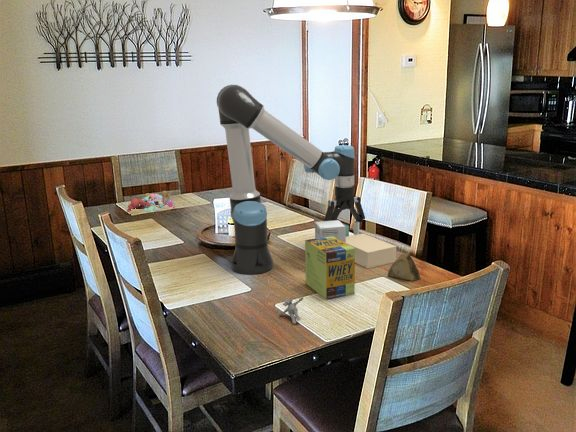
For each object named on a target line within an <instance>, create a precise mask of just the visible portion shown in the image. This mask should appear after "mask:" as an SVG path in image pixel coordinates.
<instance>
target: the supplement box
mask: <svg viewBox="0 0 576 432" xmlns="http://www.w3.org/2000/svg"><path fill="white" fill-rule="evenodd" d="M343 224H344V223H342V222H341V220H338V219H337V220H334V221H324V220H322V221H314V237H315V238H314V239H316V238H324V237H331V236H333V237H335V238H337V239H339V240H341V241H343V242H345V243H346V227H345V226H344V225H343Z"/></svg>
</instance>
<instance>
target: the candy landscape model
mask: <svg viewBox="0 0 576 432" xmlns="http://www.w3.org/2000/svg"><path fill="white" fill-rule="evenodd" d="M161 193H162V194H161V195H160V194H159V193H149V192H148V193H145V195H144V197H143V198H139V199H138V198H136V197H134V198H131V200H130V203H129V204H128V205H127V209H126V213H127V212H129V211H131V209H135V208H136V209H143V210H142V212H154V211H156V212H157V211H159V210H162V209H163V208H165V207H164V206H165V205H168V206H169V207H172V206H173V204H174V205H175V206H176V204H175V202H174V201H175V199H174V197H173V196H172V193H171V192H170V193H168V192H167V190H163V191H162V192H161ZM167 203H168V204H167ZM139 204H140V206H139ZM150 204H153V205H151V206H150ZM163 204H164V205H163ZM155 205H159V207H157V206H155ZM161 208H162V209H161Z"/></svg>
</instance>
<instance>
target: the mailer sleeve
mask: <svg viewBox="0 0 576 432" xmlns="http://www.w3.org/2000/svg"><path fill="white" fill-rule="evenodd" d="M346 244H348V245H350V246H352V247H354V248H355V263H356V264H357V265H359V266H361V267H363V268H366V269H368V270H369V269H371V268H376V267H379V266H380V267H381V266H385V265H388V264H393V263H394V262H395V261H396V260H397V246H396V245H395V244H391V243H389V242H386V241H384V240H380V239H379V238H377V237H376V238H375V237H374V236H371V235H368V234H366V233H359V234H357V235H354V234H353V235H349V236H348V237H346Z"/></svg>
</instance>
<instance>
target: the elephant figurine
mask: <svg viewBox="0 0 576 432" xmlns="http://www.w3.org/2000/svg"><path fill="white" fill-rule="evenodd" d="M293 298H294V297H290V298H289V299H288V298H287V299H286V300H285V301H284V302H283V303H282V305H283V306H284V307H287V308H285V310H284V311H283V312H280V313H279V315H278V316H279V317H281V316H283V315H285V314H286V313H287V312H288V315H289V316H290V318H291V322H292V324H294V325H296V324H297V321H298V322H299V321H301V317H300V316H299V313H298V311H299V309H298V308H297V307H296V306H297V305H298V304H299V303H301V302H302V301H303V300H304V297H299V298H298V300H297V301H294V302H293Z"/></svg>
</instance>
